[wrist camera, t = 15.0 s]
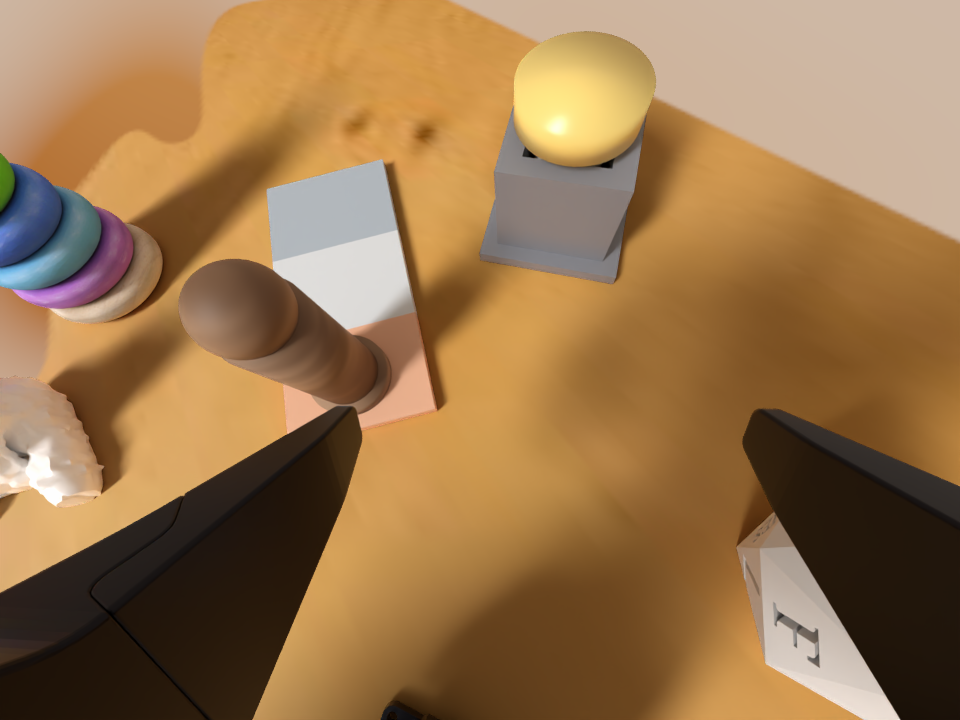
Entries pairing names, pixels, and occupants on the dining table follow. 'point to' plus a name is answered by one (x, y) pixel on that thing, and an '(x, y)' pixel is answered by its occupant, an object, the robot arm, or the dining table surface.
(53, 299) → the stacking toy
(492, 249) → the box
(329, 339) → the brown round-topped post
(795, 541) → the robot arm
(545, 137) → the dome button
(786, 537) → the die
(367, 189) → the game board
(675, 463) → the dining table surface
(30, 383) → the seated beast figurine
